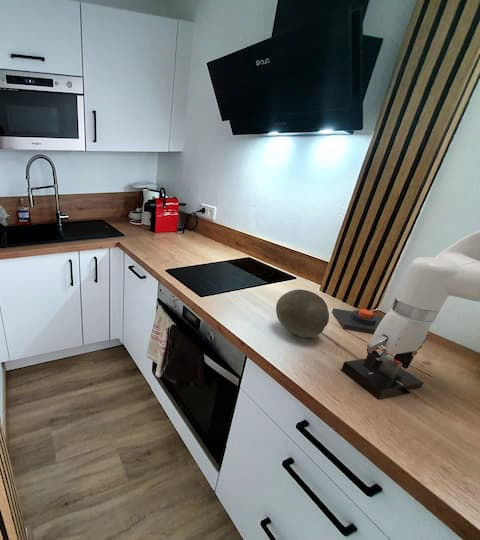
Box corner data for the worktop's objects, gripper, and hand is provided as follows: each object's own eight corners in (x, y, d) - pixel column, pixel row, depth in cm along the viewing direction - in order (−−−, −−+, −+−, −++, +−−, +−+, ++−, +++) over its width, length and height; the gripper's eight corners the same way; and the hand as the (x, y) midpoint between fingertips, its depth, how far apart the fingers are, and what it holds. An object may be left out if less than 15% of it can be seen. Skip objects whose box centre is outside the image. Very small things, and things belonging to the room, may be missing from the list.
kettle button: (368, 314, 97) (370, 310, 96) (373, 319, 93) (375, 315, 93) (355, 312, 98) (357, 308, 97) (360, 317, 94) (362, 313, 94)
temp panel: (378, 364, 80) (382, 355, 79) (418, 391, 72) (424, 382, 70) (340, 370, 78) (344, 361, 77) (377, 399, 69) (383, 389, 68)
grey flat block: (376, 323, 100) (381, 311, 98) (392, 341, 91) (399, 328, 89) (330, 315, 104) (334, 303, 102) (341, 332, 94) (346, 319, 92)
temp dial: (370, 365, 76) (377, 350, 74) (375, 364, 76) (382, 350, 74) (390, 379, 71) (398, 364, 69) (395, 378, 71) (403, 363, 70)
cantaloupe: (303, 321, 100) (316, 283, 94) (330, 347, 87) (347, 305, 81) (263, 320, 100) (274, 282, 94) (284, 346, 87) (298, 303, 81)
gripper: (423, 299, 71) (395, 353, 78) (368, 304, 68) (343, 361, 75) (461, 315, 65) (427, 373, 71) (402, 322, 61) (372, 382, 68)
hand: (384, 367), depth 73 cm, fingers open, 9 cm apart
